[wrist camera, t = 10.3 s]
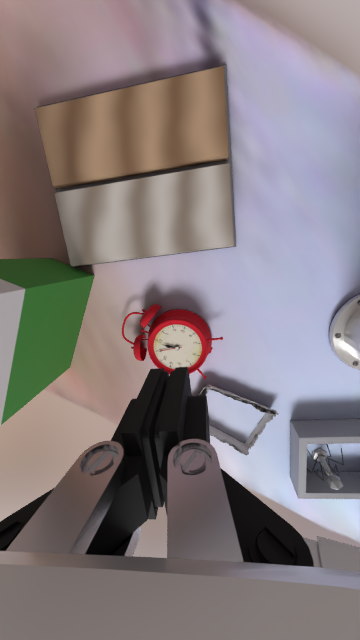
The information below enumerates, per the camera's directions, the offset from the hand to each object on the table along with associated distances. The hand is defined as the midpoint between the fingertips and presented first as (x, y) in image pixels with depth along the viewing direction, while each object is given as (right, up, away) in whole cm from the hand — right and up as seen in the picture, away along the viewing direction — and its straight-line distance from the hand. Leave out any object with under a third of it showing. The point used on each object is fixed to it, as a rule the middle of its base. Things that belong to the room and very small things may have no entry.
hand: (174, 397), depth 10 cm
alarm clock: (-1, +1, +29) cm, 29 cm away
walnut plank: (-6, +28, +21) cm, 35 cm away
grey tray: (+27, -20, +31) cm, 46 cm away
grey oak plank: (-5, +18, +23) cm, 30 cm away
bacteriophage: (+25, -21, +32) cm, 46 cm away
